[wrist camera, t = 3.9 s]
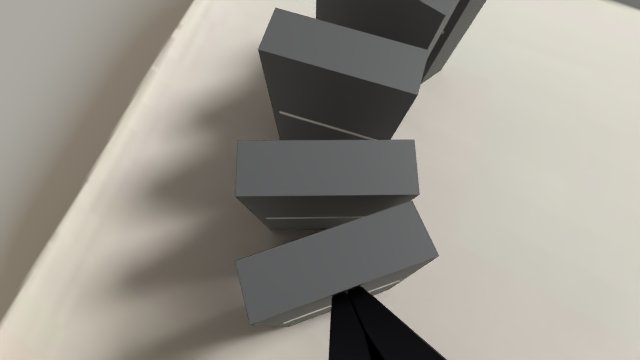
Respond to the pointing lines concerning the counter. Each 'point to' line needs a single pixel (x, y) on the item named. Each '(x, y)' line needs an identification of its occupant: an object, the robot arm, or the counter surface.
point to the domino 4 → (334, 265)
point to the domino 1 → (391, 18)
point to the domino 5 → (451, 35)
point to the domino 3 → (323, 180)
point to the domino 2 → (337, 79)
